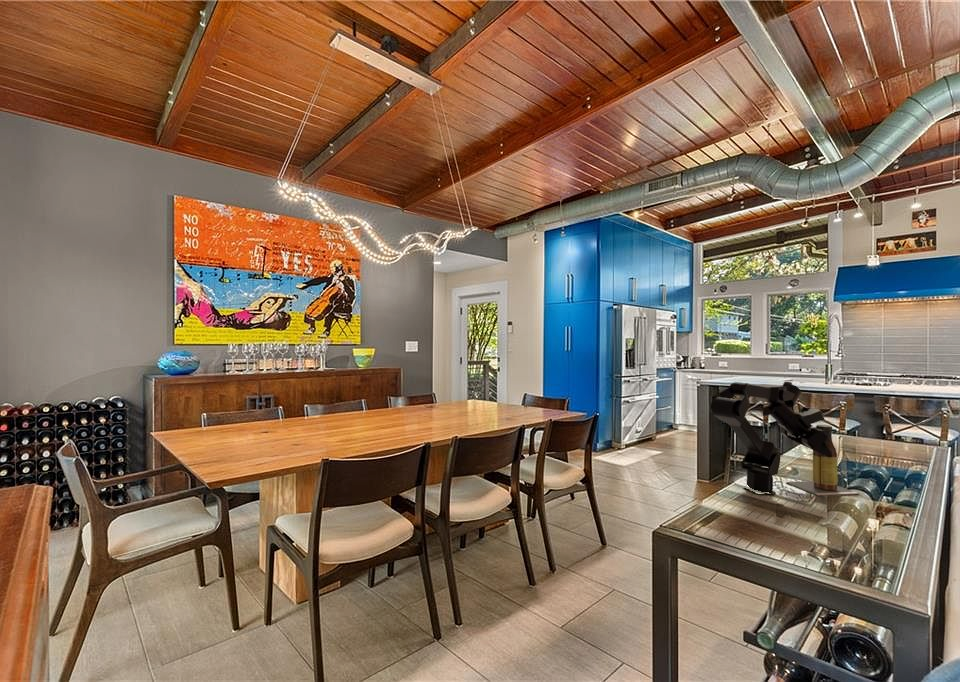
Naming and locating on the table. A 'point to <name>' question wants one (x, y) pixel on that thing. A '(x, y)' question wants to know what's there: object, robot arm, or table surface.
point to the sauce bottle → (825, 464)
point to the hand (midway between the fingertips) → (822, 452)
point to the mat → (810, 488)
